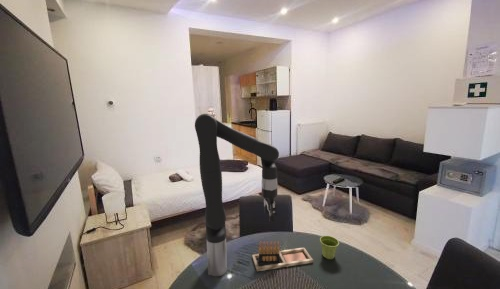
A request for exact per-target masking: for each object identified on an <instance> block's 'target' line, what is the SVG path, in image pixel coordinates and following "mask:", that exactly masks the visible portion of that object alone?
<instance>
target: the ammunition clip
mask: <svg viewBox="0 0 500 289" xmlns="http://www.w3.org/2000/svg"><path fill="white" fill-rule="evenodd" d="M258 245H259V246H258V254H259V258H257V259H258V260H257V263H258V264H279V263H281V259H280V257H279V251H280V241H279V240H277V241H275V240H274V241H272V240H270V241H268V240H267V241H266V242H265V240H263V241H261V240H259V242H258ZM265 256H266V257H265Z"/></svg>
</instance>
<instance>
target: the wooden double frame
mask: <svg viewBox="0 0 500 289" xmlns="http://www.w3.org/2000/svg"><path fill="white" fill-rule="evenodd" d="M251 256H252V257H251V258H252V261H253V264H254V267H255V270H256V272H260V271H261V272H262V271H267V270H274V269H281V268H285V267H286V268H288V267H292V266H299V265H307V264H312V263H314V258H312V256H311V254H309V252H308V251H307V249H306V248H305V247H298V248H291V249H284V250H279V257H280V263H271V264H265V265H260V266H259V262H258V260H257V259H259V253H255V254H252V255H251ZM265 258H266V256H265Z"/></svg>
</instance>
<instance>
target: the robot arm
mask: <svg viewBox="0 0 500 289" xmlns="http://www.w3.org/2000/svg"><path fill="white" fill-rule="evenodd" d="M194 129H195V133H196V137H197V142H198V148H199V172H200V173H199V174H200V180H201V186H202V192H203V196H204V200H205V216H204V218H205V219H204V220H205V237H206V257H207V260H206V261H207V276H212V277H220V276H223V275H224V274H225V273H226V272H228V271H227V270H228V260H227V256H228V255H227V254H228V253H227V252H228V251H227V229H226V228H227V227H226V219H227V215H226V210H225V206H224V203H223V174H222V165H221V159H220V154H219V151H218V150H219V149H218V138H219V139H221V140H224V141H226V142H228V143H229V144H231V145H233V146H234V147H237V148H239V149H240V150H243V151H245V152H248V153H249V154H253V155H255V156H256V157H258V158H260V161H261V196H262V198H263V199H262V201H263V202H262V203H263V207H264V214H265V215H269V223H275V220H276V219H275V217H276V216H277V203H276V202H275V198H277V196H278V167H277V165H276V161H277V160H278V159H279V156H280V151H279V150H278V149H277V147H275V145H272V144H269V143H265V142H263V141H261V140H259V139H258V138H256V137H254V136H252V135H249V134H247V133H245V132H243V131H240V130H237V129H234V128H232V127H230V126H228V125H226V124H224V123H223V122H221V121H219V120H218V119H217V118H215V117H214V115H211V114H209V113H201V114H199V115H198V116H197V117H196V119H195V122H194Z"/></svg>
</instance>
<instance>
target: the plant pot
mask: <svg viewBox="0 0 500 289" xmlns="http://www.w3.org/2000/svg"><path fill="white" fill-rule="evenodd" d="M319 242H320V244H321V254H322V257H323V258H325V259H327V260H333V259H334V258H335V256H336V251H337V248H338V246H339V245H340V242H339V240H338V239H337V238H336V237H335V236H331V235H323V236H320V238H319Z"/></svg>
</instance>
